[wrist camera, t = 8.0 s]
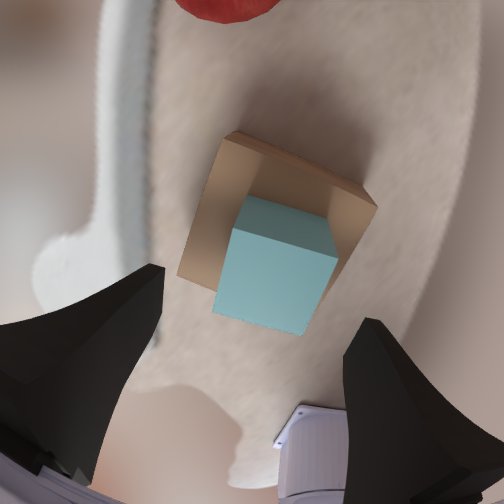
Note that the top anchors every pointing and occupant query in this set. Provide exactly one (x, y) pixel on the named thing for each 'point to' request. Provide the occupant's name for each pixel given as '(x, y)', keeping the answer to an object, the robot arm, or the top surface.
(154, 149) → the top surface
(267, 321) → the teal cube
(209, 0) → the onion
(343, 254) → the walnut block
